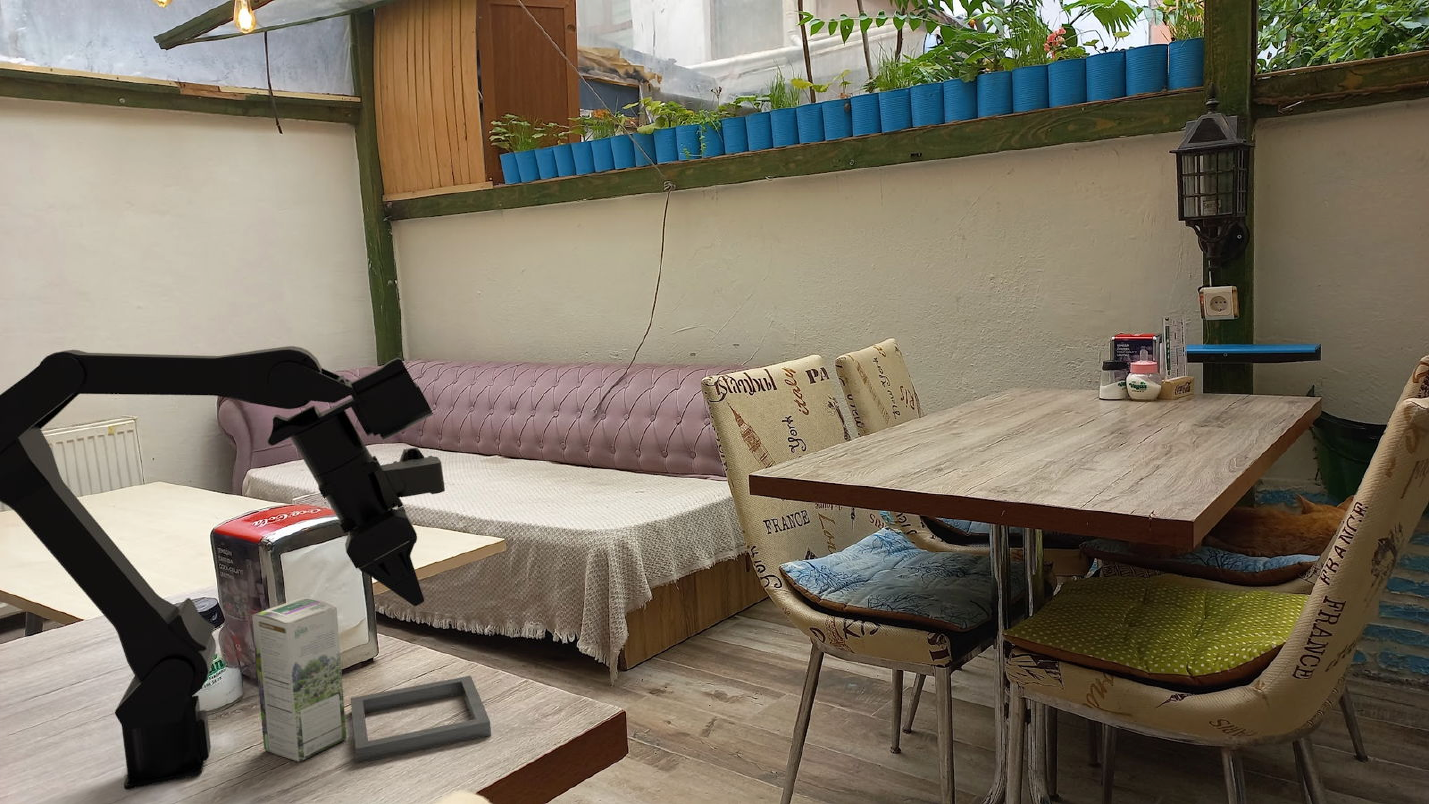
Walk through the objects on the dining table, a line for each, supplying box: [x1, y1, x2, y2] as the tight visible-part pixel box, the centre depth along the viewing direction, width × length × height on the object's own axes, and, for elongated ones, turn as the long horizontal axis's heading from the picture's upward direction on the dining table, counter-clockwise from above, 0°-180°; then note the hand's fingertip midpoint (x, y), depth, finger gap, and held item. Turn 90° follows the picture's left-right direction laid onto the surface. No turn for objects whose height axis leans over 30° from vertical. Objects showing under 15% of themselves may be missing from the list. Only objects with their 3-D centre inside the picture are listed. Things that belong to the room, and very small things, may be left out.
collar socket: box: [350, 675, 492, 764], centre depth 102 cm, size 13×13×2 cm
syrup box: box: [251, 597, 347, 763], centre depth 97 cm, size 6×6×14 cm
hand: (415, 591), depth 101 cm, fingers open, 9 cm apart
